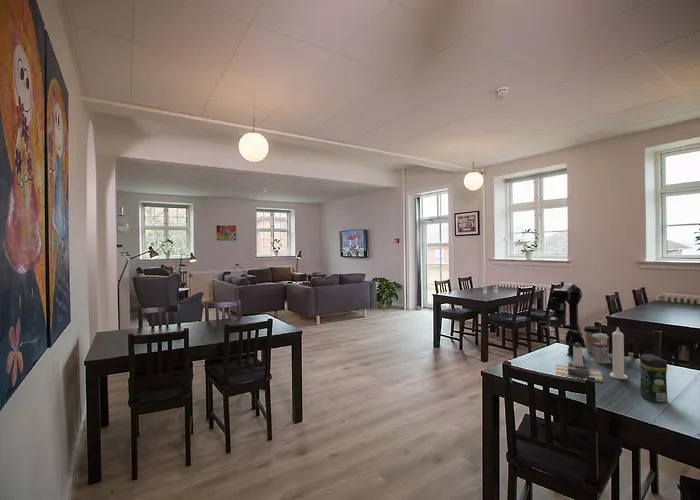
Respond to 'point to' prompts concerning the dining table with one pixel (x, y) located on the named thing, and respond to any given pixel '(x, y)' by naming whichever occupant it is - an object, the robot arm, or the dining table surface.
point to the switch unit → (578, 372)
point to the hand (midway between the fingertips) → (558, 342)
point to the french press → (600, 349)
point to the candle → (618, 355)
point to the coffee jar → (653, 378)
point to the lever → (577, 354)
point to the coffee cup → (588, 336)
